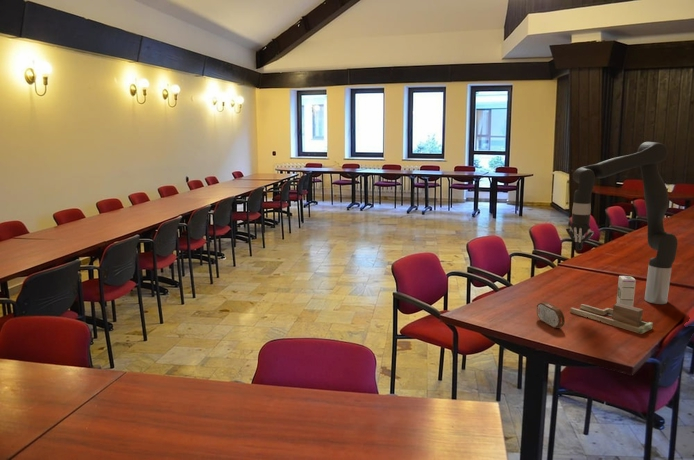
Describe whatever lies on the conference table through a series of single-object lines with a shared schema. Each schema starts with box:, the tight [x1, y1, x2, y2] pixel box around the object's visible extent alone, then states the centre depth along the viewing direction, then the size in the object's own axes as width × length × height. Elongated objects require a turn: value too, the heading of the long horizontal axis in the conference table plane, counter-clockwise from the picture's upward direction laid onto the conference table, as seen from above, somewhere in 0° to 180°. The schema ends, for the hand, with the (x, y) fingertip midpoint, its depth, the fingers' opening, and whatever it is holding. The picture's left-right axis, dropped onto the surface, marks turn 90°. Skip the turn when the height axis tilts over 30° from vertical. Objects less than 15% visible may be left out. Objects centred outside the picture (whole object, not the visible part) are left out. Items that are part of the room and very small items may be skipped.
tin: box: [536, 301, 566, 329], centre depth 218 cm, size 15×3×8 cm, turn 17°
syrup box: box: [615, 275, 637, 307], centre depth 237 cm, size 6×6×14 cm
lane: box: [569, 303, 654, 335], centre depth 225 cm, size 14×30×2 cm, turn 37°
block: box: [611, 303, 644, 327], centre depth 217 cm, size 4×10×8 cm, turn 38°
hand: (578, 249), depth 241 cm, fingers closed
